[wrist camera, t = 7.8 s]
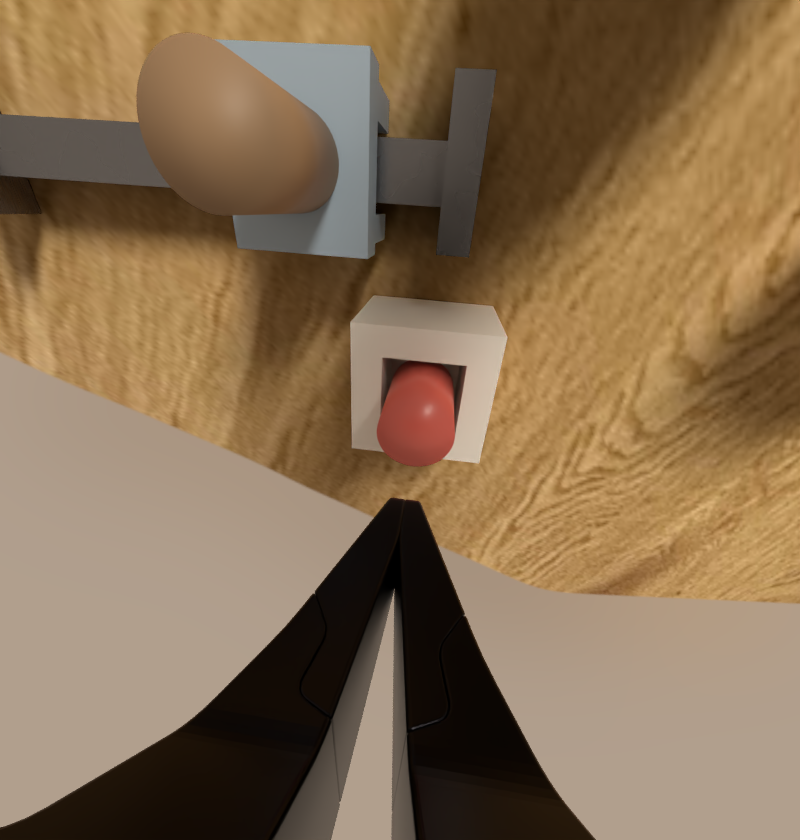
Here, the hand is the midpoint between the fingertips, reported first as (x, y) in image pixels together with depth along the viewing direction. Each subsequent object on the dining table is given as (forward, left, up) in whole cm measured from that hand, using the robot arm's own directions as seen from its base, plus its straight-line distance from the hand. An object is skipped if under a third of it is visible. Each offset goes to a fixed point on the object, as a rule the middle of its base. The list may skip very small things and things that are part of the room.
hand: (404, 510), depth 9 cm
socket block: (0, 0, -12) cm, 12 cm away
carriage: (+5, -8, -12) cm, 15 cm away
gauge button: (0, 0, -8) cm, 8 cm away
